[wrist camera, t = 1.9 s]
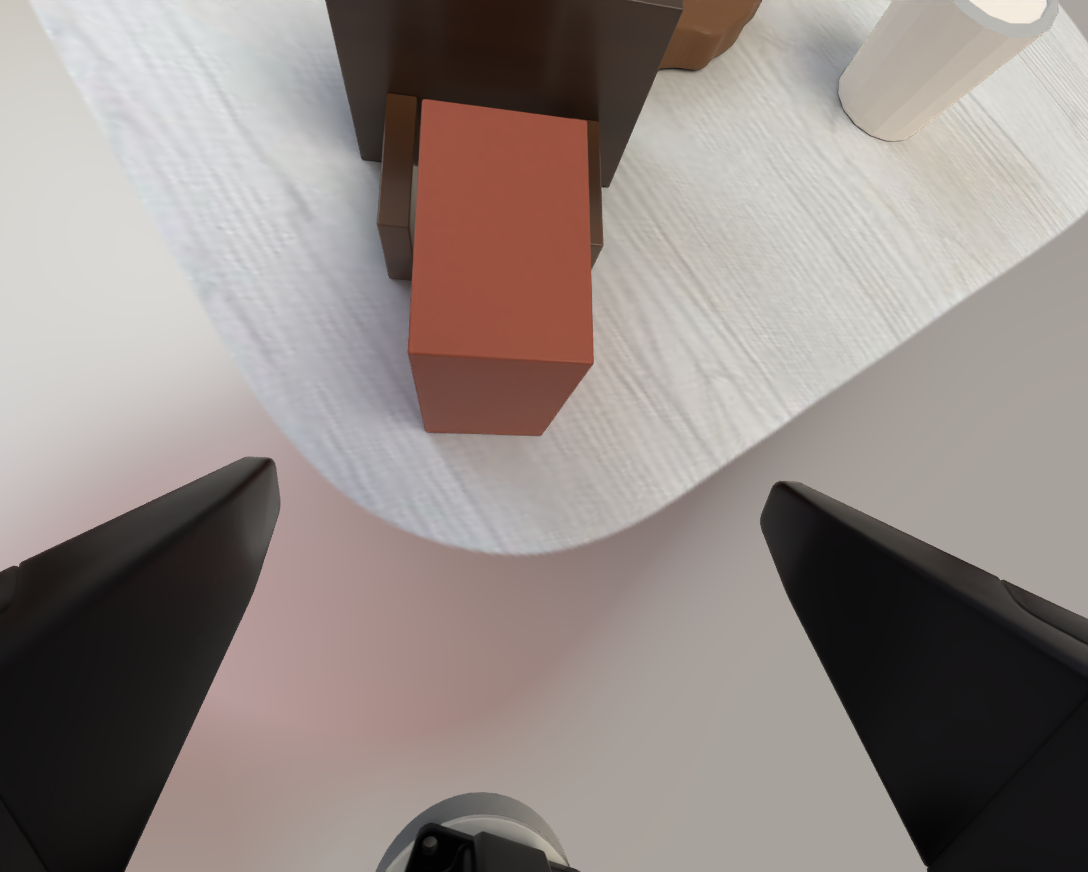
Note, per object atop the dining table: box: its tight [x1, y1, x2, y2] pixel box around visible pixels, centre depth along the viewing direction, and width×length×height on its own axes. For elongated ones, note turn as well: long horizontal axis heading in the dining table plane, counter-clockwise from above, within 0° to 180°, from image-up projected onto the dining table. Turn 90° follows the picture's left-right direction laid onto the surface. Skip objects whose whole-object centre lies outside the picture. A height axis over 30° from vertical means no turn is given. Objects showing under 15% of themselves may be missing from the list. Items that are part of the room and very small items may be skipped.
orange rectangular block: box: [408, 99, 594, 436], centre depth 19 cm, size 8×5×9 cm, turn 0°
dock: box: [325, 0, 683, 280], centre depth 21 cm, size 10×12×9 cm
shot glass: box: [838, 0, 1059, 141], centre depth 28 cm, size 7×7×7 cm
